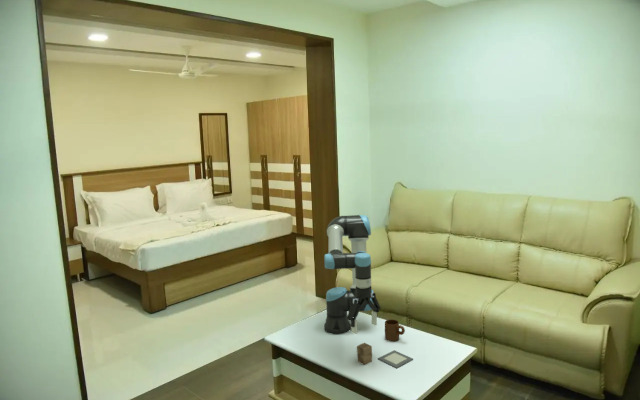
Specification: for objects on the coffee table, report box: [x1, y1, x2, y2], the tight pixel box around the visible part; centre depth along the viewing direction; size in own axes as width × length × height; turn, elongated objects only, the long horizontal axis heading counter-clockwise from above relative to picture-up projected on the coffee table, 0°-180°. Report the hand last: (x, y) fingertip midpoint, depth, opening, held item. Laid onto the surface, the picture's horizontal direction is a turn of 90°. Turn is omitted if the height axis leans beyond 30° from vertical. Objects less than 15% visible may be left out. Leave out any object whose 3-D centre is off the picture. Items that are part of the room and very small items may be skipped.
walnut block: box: [356, 342, 373, 366], centre depth 214 cm, size 5×5×8 cm
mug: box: [384, 318, 406, 342], centre depth 235 cm, size 12×8×9 cm, turn 43°
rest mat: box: [377, 349, 414, 369], centre depth 215 cm, size 12×12×1 cm
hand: (364, 328), depth 212 cm, fingers open, 13 cm apart
